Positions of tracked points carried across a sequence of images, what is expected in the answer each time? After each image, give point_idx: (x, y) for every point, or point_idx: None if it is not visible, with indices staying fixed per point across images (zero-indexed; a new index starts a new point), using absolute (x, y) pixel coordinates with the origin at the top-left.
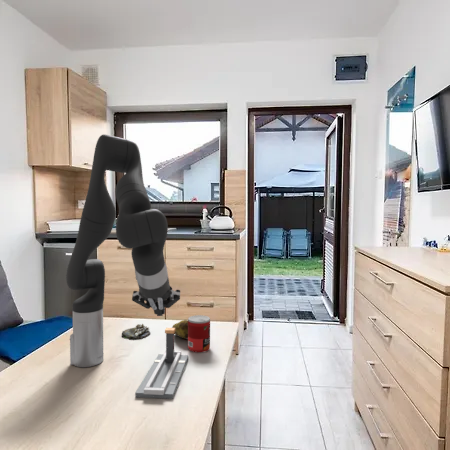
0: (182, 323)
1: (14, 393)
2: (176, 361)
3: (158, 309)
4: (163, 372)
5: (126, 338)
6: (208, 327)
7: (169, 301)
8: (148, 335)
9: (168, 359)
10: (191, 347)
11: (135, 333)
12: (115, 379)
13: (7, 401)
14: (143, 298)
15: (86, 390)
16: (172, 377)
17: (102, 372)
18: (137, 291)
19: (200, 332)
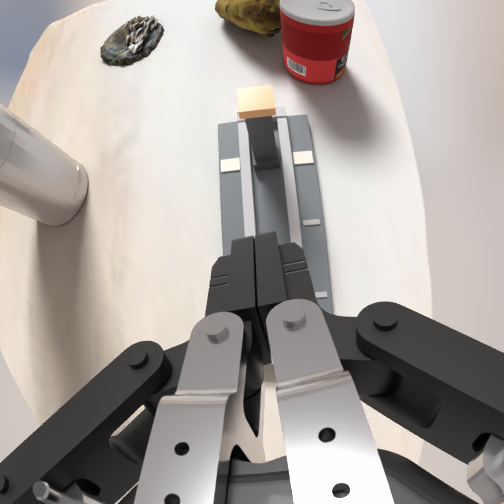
0: (252, 7)
1: (8, 346)
2: (293, 174)
3: (269, 348)
4: (269, 230)
5: (114, 64)
6: (351, 28)
7: (424, 428)
8: (161, 36)
9: (264, 165)
10: (301, 75)
11: (129, 43)
12: (146, 270)
13: (14, 374)
14: (105, 463)
15: (105, 332)
16: (306, 257)
17: (104, 239)
18: (13, 500)
19: (332, 46)
